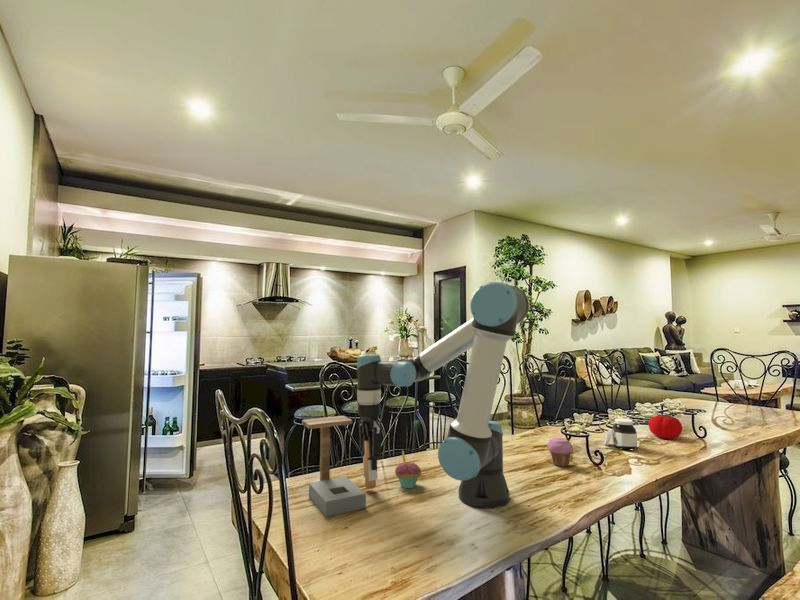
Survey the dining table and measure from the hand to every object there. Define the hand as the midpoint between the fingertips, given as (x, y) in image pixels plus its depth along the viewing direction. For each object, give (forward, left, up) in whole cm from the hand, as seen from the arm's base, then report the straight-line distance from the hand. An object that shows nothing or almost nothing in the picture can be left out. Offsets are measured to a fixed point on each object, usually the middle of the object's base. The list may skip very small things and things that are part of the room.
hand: (370, 477), depth 132 cm
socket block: (-3, +12, -4) cm, 13 cm away
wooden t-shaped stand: (+6, +12, -4) cm, 14 cm away
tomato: (-9, -147, -4) cm, 147 cm away
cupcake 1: (-2, -13, -4) cm, 14 cm away
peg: (0, 0, -3) cm, 3 cm away
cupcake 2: (-12, -73, -4) cm, 74 cm away
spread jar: (-8, -114, -4) cm, 114 cm away
